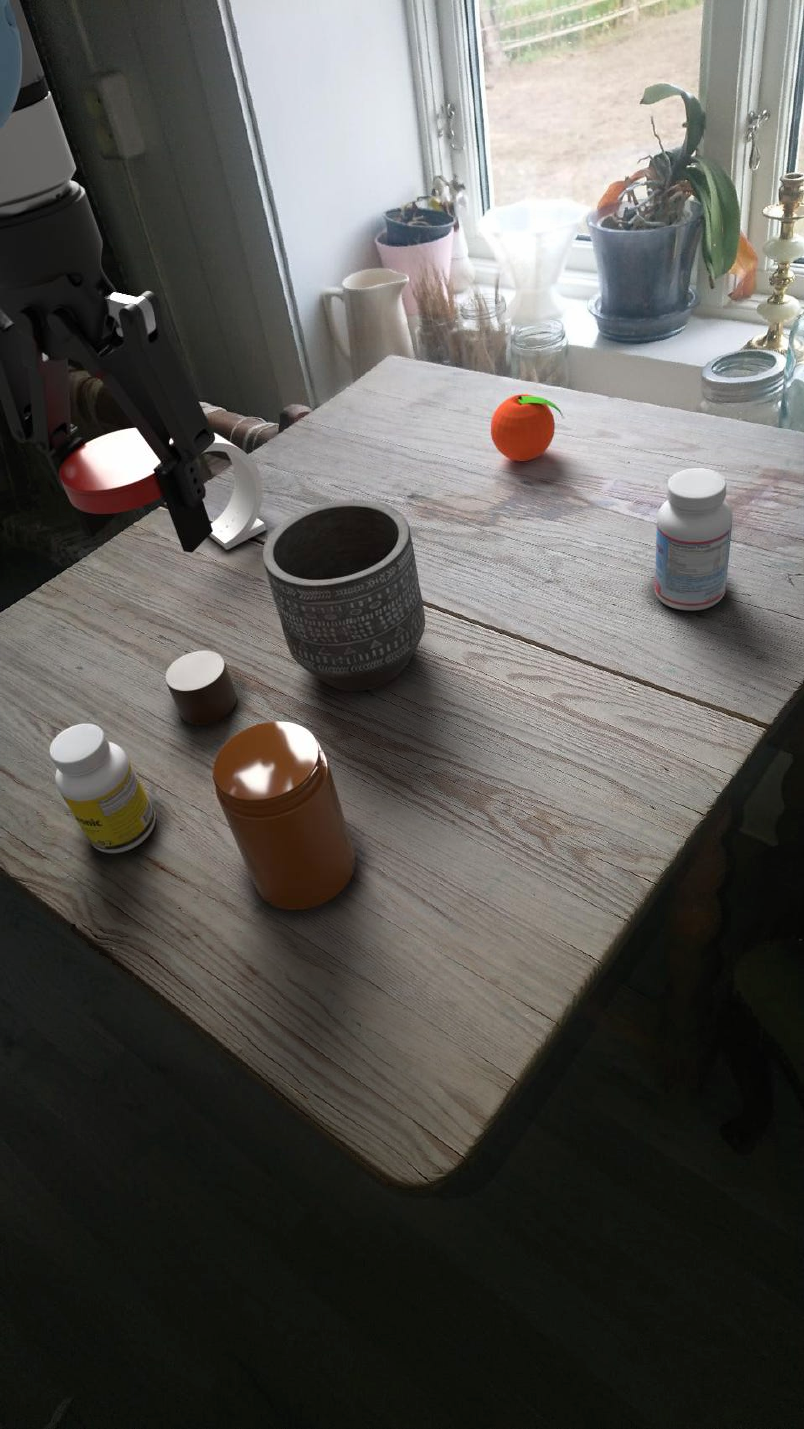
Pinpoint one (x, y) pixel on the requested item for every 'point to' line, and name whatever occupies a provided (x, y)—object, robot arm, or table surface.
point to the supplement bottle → (101, 789)
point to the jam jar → (285, 814)
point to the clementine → (523, 427)
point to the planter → (347, 591)
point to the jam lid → (111, 473)
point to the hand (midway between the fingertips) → (148, 533)
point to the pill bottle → (693, 540)
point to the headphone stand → (239, 499)
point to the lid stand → (201, 687)
